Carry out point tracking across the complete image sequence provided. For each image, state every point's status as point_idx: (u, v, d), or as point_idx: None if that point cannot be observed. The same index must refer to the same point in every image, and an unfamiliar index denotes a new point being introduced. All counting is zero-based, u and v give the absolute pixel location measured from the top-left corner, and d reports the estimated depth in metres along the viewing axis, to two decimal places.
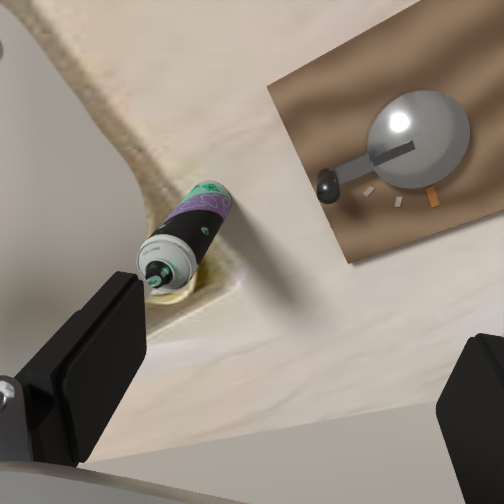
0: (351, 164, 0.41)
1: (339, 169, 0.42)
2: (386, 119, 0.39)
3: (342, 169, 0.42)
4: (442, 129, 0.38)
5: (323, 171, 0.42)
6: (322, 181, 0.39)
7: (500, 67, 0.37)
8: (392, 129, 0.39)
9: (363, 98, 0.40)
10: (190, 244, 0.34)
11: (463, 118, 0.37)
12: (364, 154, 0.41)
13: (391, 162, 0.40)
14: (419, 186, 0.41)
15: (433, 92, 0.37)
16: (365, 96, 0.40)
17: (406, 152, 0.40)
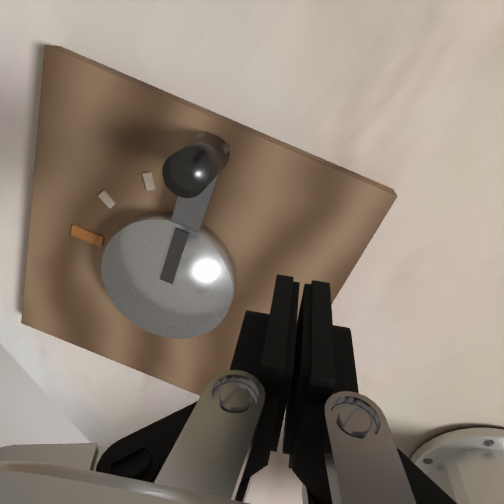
0: (201, 205, 0.24)
1: (208, 187, 0.24)
2: (219, 281, 0.27)
3: (205, 191, 0.24)
4: (159, 310, 0.29)
5: (224, 165, 0.23)
6: (211, 177, 0.20)
7: (180, 365, 0.34)
8: (202, 277, 0.27)
9: (264, 269, 0.28)
10: None
11: (155, 331, 0.30)
12: (201, 226, 0.25)
13: (164, 245, 0.26)
14: (108, 246, 0.27)
15: (205, 331, 0.29)
16: (264, 271, 0.28)
17: (163, 268, 0.27)
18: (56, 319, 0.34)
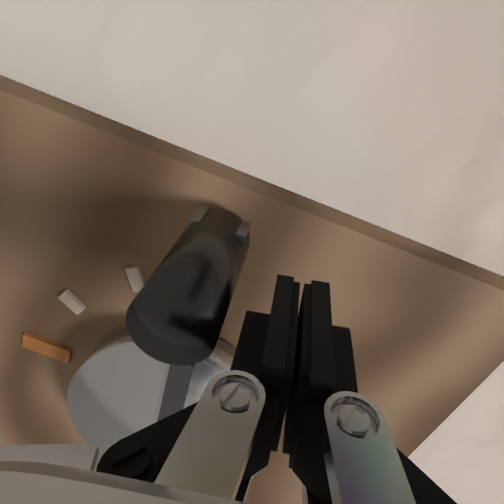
0: None
1: None
2: None
3: None
4: None
5: None
6: (224, 316, 0.10)
7: None
8: None
9: None
10: None
11: None
12: None
13: (158, 381, 0.16)
14: (73, 383, 0.17)
15: None
16: None
17: (160, 411, 0.17)
18: (14, 442, 0.24)
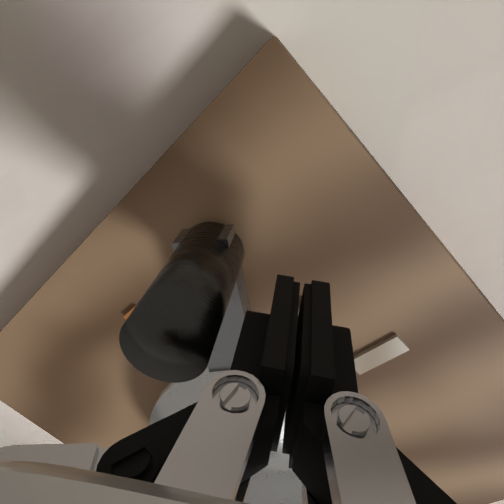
0: (239, 333, 0.15)
1: (232, 305, 0.14)
2: None
3: (232, 312, 0.14)
4: (262, 484, 0.19)
5: (239, 262, 0.13)
6: (214, 319, 0.10)
7: None
8: None
9: None
10: None
11: None
12: None
13: None
14: None
15: None
16: None
17: None
18: (26, 391, 0.21)
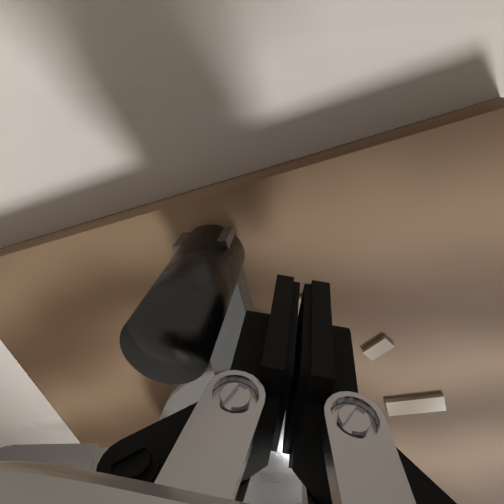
0: None
1: (235, 306, 0.14)
2: None
3: (234, 314, 0.14)
4: (273, 489, 0.18)
5: (239, 263, 0.13)
6: (214, 320, 0.10)
7: None
8: None
9: None
10: None
11: None
12: None
13: None
14: None
15: None
16: None
17: None
18: (21, 317, 0.18)
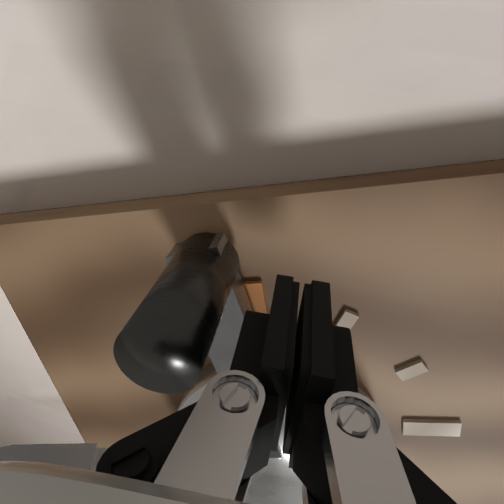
0: None
1: (232, 312, 0.14)
2: None
3: (233, 320, 0.14)
4: (290, 492, 0.18)
5: (232, 269, 0.13)
6: (205, 327, 0.10)
7: None
8: None
9: None
10: None
11: None
12: None
13: None
14: None
15: None
16: None
17: None
18: (42, 287, 0.17)
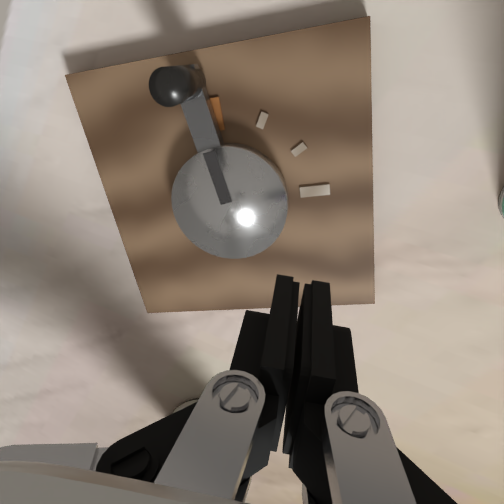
0: (208, 122, 0.29)
1: (202, 104, 0.28)
2: (261, 173, 0.30)
3: (202, 109, 0.28)
4: (239, 233, 0.33)
5: (201, 78, 0.28)
6: (186, 78, 0.25)
7: (147, 238, 0.37)
8: (247, 180, 0.30)
9: (278, 257, 0.36)
10: None
11: (248, 253, 0.33)
12: (220, 140, 0.30)
13: (206, 175, 0.31)
14: (173, 206, 0.32)
15: (282, 225, 0.32)
16: (276, 258, 0.36)
17: (217, 194, 0.31)
18: (101, 112, 0.32)
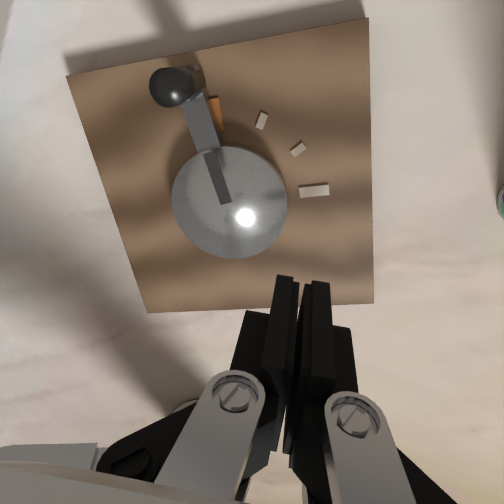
0: (208, 123, 0.29)
1: (202, 105, 0.28)
2: (261, 174, 0.30)
3: (202, 109, 0.29)
4: (238, 233, 0.33)
5: (201, 79, 0.28)
6: (186, 79, 0.25)
7: (147, 238, 0.37)
8: (247, 180, 0.30)
9: (277, 258, 0.36)
10: None
11: (247, 253, 0.34)
12: (219, 141, 0.30)
13: (206, 175, 0.31)
14: (173, 207, 0.33)
15: (282, 225, 0.32)
16: (275, 258, 0.36)
17: (217, 194, 0.31)
18: (102, 113, 0.32)
